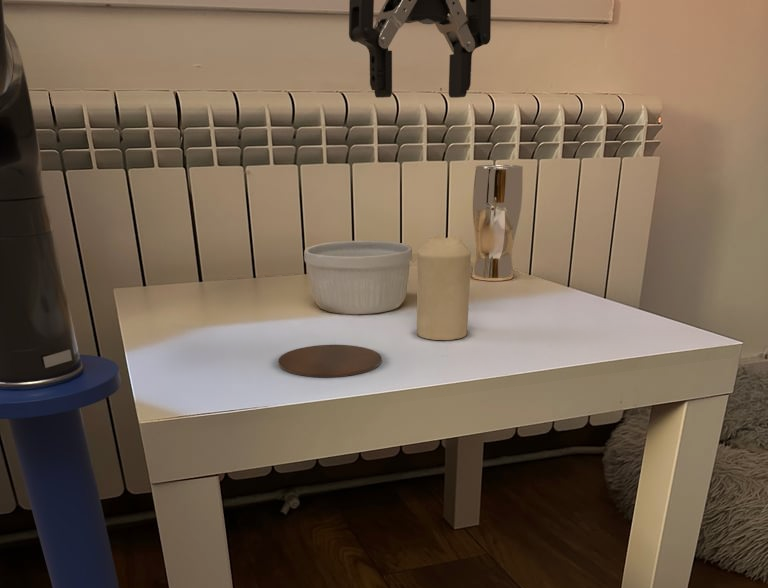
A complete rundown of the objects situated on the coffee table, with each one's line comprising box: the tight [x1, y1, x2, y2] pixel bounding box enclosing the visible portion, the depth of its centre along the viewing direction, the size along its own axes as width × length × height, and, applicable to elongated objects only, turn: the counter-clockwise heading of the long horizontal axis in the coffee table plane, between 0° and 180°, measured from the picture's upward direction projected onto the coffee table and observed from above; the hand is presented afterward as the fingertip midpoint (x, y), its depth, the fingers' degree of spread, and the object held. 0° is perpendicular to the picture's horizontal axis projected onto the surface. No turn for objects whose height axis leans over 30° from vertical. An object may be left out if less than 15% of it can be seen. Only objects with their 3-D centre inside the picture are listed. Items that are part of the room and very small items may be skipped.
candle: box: [416, 235, 472, 341], centre depth 77 cm, size 6×6×10 cm
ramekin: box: [303, 240, 413, 315], centre depth 91 cm, size 13×13×7 cm
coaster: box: [277, 344, 383, 378], centre depth 71 cm, size 10×10×1 cm
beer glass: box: [471, 164, 524, 282], centre depth 105 cm, size 7×7×15 cm
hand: (421, 97), depth 71 cm, fingers open, 8 cm apart
